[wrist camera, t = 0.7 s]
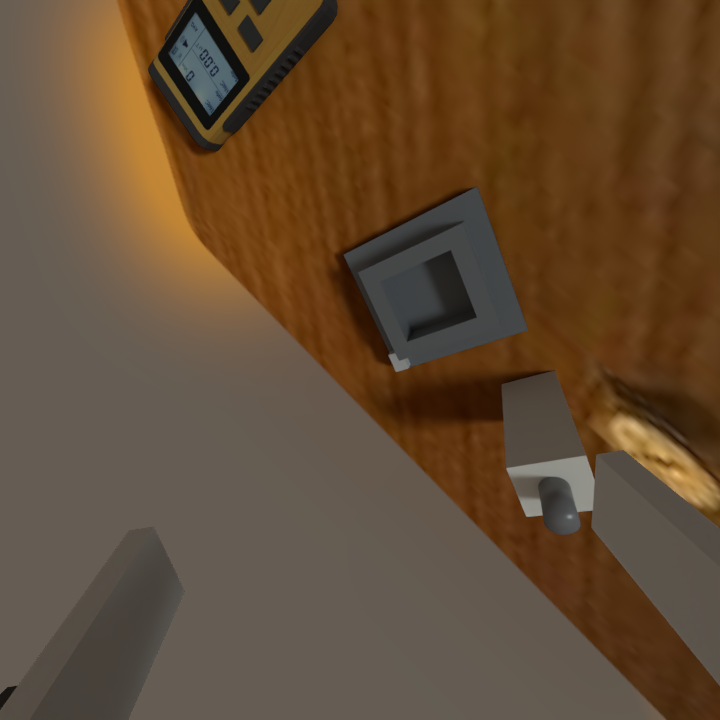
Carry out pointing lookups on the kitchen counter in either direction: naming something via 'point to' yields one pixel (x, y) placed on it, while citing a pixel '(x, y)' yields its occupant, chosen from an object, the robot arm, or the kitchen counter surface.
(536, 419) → the plug
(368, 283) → the socket
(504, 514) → the kitchen counter surface
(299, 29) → the electronic device
